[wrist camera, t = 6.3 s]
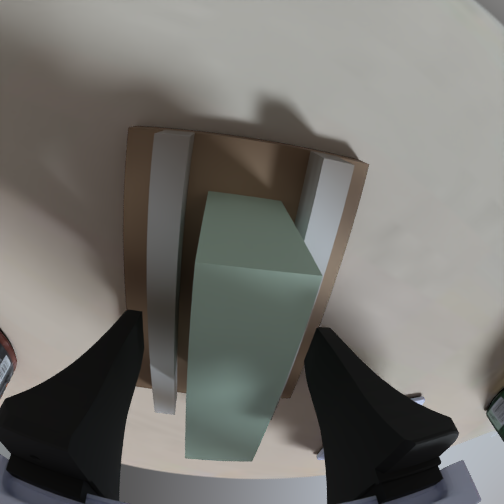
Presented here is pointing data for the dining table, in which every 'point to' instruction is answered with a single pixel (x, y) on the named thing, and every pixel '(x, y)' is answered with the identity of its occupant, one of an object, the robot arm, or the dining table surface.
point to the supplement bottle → (6, 363)
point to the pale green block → (243, 322)
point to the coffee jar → (497, 414)
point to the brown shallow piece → (190, 221)
